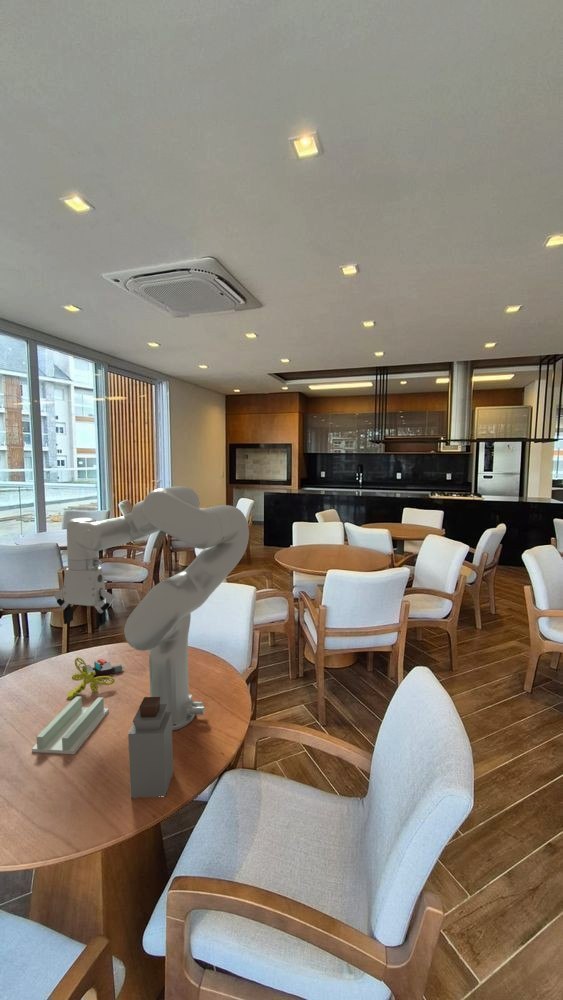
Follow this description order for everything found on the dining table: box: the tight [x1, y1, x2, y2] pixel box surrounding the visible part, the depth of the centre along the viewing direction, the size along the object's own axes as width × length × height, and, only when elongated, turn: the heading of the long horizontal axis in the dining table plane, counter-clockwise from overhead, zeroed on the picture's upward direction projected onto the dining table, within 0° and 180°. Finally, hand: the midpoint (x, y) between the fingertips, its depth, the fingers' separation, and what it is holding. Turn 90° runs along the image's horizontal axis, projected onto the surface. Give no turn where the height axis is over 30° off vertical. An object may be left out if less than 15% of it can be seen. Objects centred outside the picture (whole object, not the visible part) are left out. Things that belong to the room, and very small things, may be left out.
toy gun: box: [81, 658, 126, 678], centre depth 131 cm, size 10×12×5 cm
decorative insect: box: [66, 656, 116, 700], centre depth 117 cm, size 13×3×10 cm
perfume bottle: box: [127, 696, 174, 799], centre depth 84 cm, size 7×7×18 cm
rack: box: [31, 695, 110, 755], centre depth 102 cm, size 10×16×4 cm, turn 176°
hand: (84, 623), depth 115 cm, fingers open, 9 cm apart
